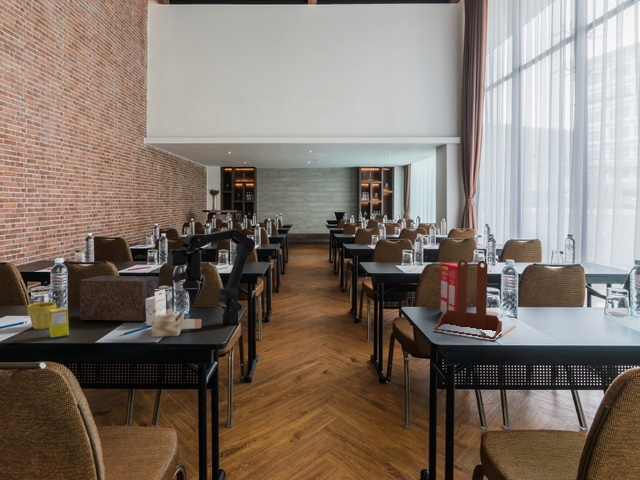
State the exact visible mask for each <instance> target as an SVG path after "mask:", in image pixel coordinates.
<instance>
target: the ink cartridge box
mask: <svg viewBox="0 0 640 480" xmlns="http://www.w3.org/2000/svg"><path fill="white" fill-rule="evenodd" d="M154 294H155V296H153V297H150V298H147V299H146V320H145V322H146V324H145V325H146V326H152V321H153V320H154V319H155V318H156V317H157V315H158V314H166V313H167V300H166V299H167V298H166V297H167V295H166V290H165V288H164V289H161V290H159V291H157V292H155V293H154Z"/></svg>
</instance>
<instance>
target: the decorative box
mask: <svg viewBox="0 0 640 480" xmlns="http://www.w3.org/2000/svg"><path fill="white" fill-rule="evenodd" d="M155 289H158V290H159V289H160V277H159V276H153V275H152V276H151V275H149V276H148V275H147V276H144V275H99V276H98V275H97V276H93V277H87V278H83V279H81V280H80V295H79V299H80V301H79V302H80V303H79V306H80V312H79V313H80V314H79V315H80V318H79V319H80V320H82V321H88V320H90V321H123V322H124V321H128V322H129V321H130V322H131V321H133V322H143V321H145V322H146V299H147V298H150V297H153V296H155V294H154V293H155V292H157V291H158V290H157V291H156V290H155ZM159 291H160V290H159Z"/></svg>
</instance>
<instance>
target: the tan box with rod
mask: <svg viewBox="0 0 640 480" xmlns="http://www.w3.org/2000/svg"><path fill="white" fill-rule="evenodd" d="M183 319H185V318H184V310H181V311H180V312H173V313H171V312H170V313H169V312H168V313H167V312H166V314H158V315H157V317H156V318H155V319H154V320H153V321H152V325H151V337H154V338H155V337H177V336H179V335H180V334H181V332H182V331H183V329H181V320H183Z"/></svg>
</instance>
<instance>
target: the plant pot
mask: <svg viewBox="0 0 640 480" xmlns="http://www.w3.org/2000/svg"><path fill="white" fill-rule="evenodd" d="M26 308H27V309H26V312H27V315H29V317H30V321H31V326H32V329H34V330H43V329H44V330H45V329H49V309H54V308H57V303H56V302H51V301H50V302H49V301H46V302H45V301H43V302H35V303H30V304H27V306H26Z"/></svg>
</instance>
